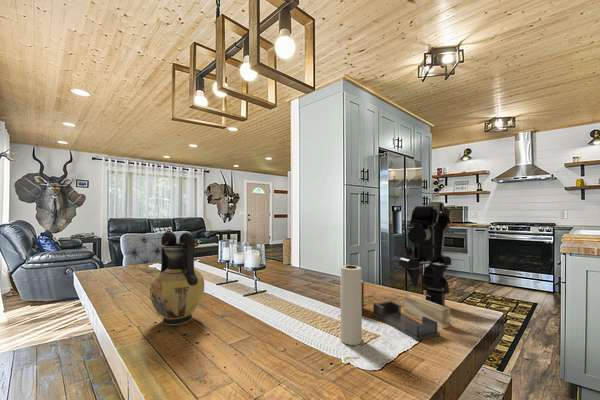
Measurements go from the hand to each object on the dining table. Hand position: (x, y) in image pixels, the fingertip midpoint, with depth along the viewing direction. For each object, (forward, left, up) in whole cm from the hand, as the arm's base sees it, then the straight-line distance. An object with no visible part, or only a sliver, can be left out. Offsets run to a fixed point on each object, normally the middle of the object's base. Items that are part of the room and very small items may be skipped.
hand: (425, 285), depth 99 cm
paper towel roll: (+33, +5, -12) cm, 35 cm away
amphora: (+81, -28, -12) cm, 87 cm away
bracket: (+11, +1, -11) cm, 16 cm away
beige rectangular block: (0, 0, -12) cm, 12 cm away
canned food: (+19, -17, -12) cm, 28 cm away
